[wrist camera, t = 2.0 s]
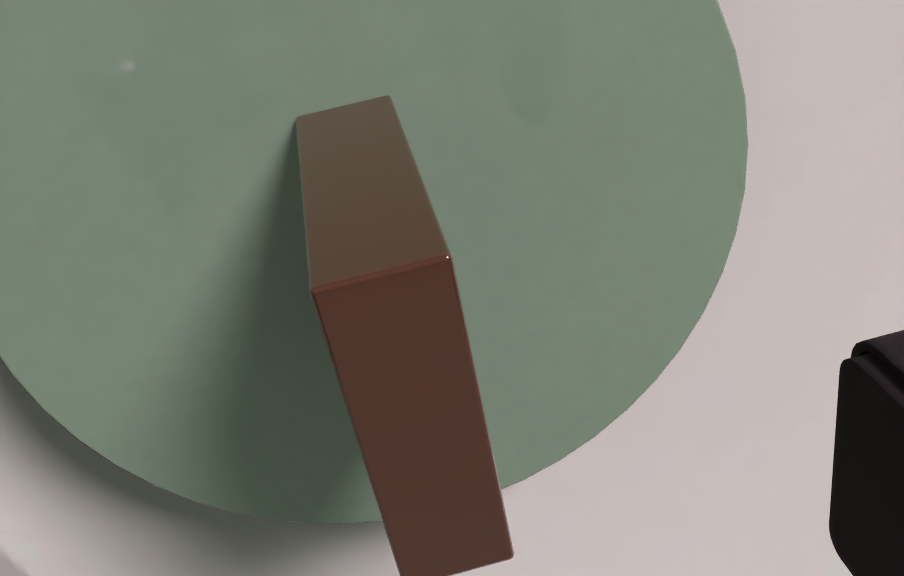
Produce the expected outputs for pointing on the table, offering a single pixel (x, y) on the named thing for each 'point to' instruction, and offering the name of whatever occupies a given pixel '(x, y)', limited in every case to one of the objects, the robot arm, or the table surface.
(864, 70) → the table surface
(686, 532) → the table surface
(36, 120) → the turntable plate
